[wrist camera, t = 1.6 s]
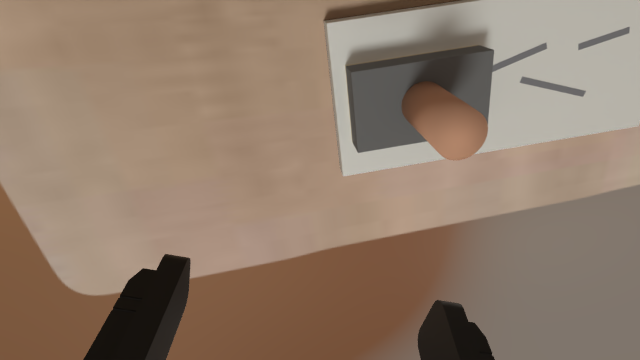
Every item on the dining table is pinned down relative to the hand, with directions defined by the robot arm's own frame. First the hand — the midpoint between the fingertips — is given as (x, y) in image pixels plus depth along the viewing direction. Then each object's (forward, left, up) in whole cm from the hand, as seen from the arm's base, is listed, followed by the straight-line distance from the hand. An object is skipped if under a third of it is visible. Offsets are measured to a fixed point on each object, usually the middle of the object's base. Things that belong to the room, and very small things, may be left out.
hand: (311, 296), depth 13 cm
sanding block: (-7, +7, -19) cm, 22 cm away
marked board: (-12, +12, -21) cm, 27 cm away
